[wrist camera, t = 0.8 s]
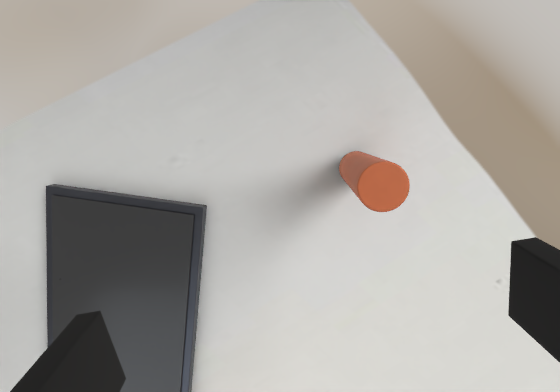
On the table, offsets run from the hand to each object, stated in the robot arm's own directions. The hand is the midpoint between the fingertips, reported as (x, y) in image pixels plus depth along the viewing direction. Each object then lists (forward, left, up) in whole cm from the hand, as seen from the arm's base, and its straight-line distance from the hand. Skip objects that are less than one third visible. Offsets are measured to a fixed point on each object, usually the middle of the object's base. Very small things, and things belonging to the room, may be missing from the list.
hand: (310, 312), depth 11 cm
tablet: (+12, -16, -18) cm, 27 cm away
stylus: (-3, +3, -18) cm, 19 cm away
